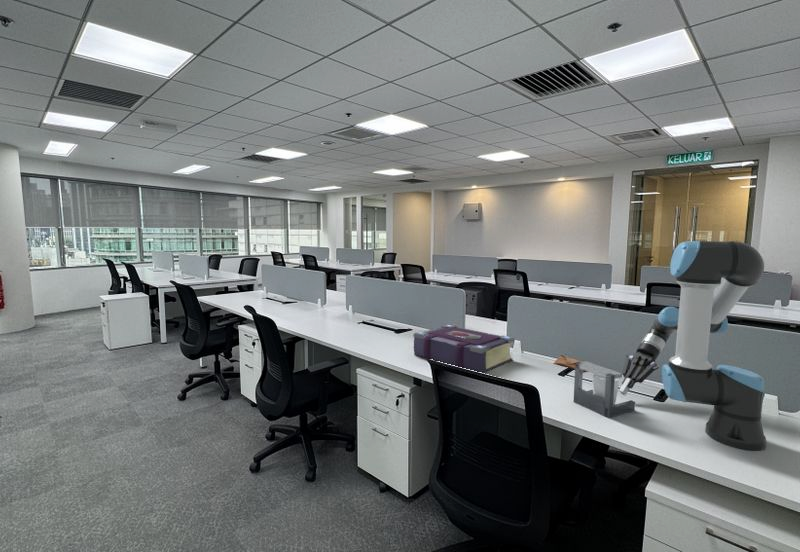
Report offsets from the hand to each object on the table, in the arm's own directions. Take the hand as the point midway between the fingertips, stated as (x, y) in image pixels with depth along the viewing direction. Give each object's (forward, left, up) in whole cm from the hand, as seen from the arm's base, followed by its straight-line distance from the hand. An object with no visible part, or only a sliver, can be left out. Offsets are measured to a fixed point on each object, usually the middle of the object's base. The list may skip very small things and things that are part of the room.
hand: (622, 392), depth 155 cm
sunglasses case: (+43, -3, -4) cm, 43 cm away
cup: (-5, +10, -4) cm, 12 cm away
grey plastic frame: (-4, +10, -4) cm, 11 cm away
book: (+61, +51, -4) cm, 79 cm away
